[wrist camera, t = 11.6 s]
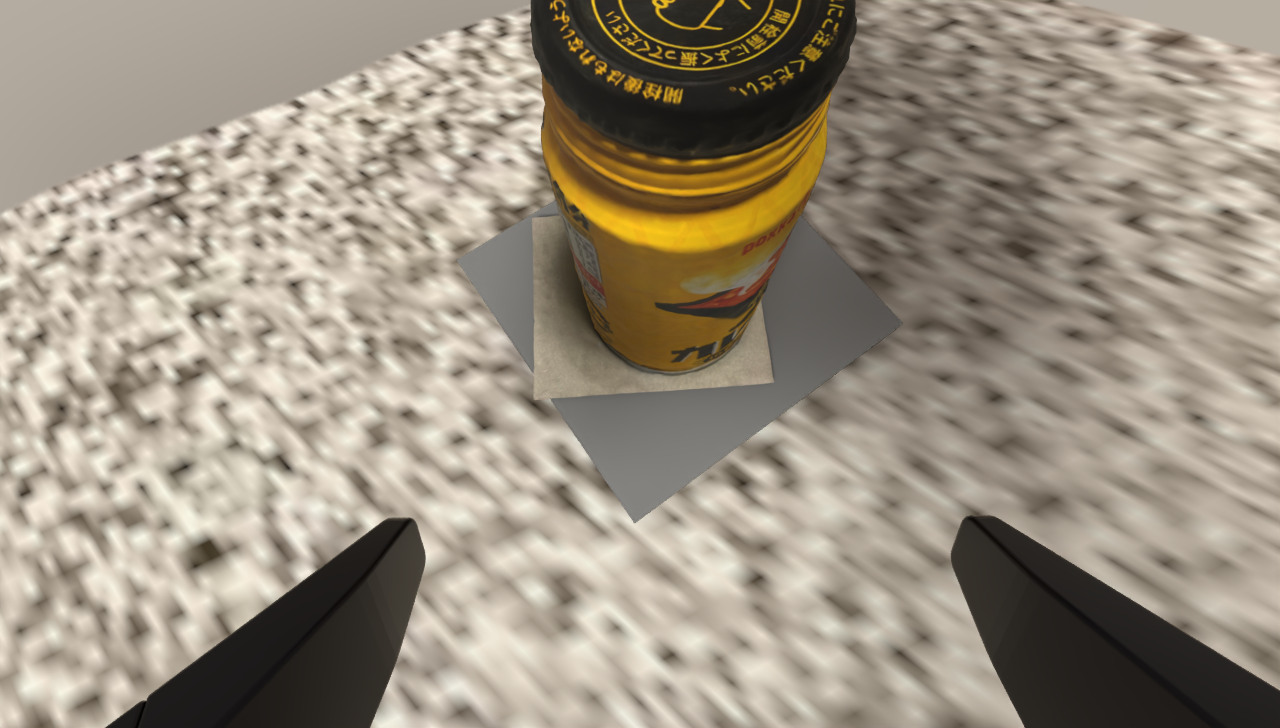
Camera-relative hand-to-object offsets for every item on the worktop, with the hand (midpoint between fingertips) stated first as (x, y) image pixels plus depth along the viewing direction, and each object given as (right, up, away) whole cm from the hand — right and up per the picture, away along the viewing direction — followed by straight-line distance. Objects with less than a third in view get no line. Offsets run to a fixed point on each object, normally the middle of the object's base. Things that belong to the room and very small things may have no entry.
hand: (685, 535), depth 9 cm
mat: (0, +5, +11) cm, 13 cm away
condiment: (-1, +5, +11) cm, 12 cm away
